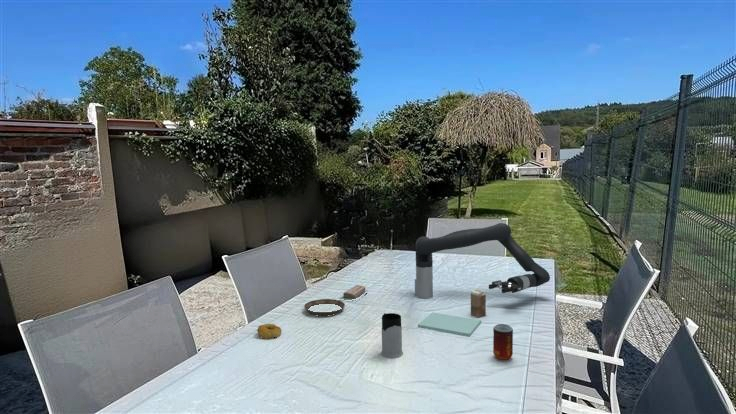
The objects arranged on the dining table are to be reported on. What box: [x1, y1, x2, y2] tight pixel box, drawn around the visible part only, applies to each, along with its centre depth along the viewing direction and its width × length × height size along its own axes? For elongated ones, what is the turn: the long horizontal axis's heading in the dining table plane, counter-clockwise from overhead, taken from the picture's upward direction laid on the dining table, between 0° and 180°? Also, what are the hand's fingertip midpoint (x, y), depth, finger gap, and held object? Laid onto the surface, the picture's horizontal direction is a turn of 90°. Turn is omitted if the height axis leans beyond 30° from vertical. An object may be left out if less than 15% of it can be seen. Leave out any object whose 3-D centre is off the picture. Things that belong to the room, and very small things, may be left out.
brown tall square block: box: [470, 288, 487, 319], centre depth 211 cm, size 5×5×12 cm
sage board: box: [417, 311, 482, 337], centre depth 200 cm, size 24×18×1 cm
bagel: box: [257, 323, 282, 339], centre depth 192 cm, size 10×11×5 cm
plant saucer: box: [304, 298, 346, 317], centre depth 223 cm, size 21×21×3 cm
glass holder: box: [380, 312, 404, 359], centre depth 173 cm, size 9×14×15 cm, turn 15°
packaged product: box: [338, 285, 367, 302], centre depth 245 cm, size 18×5×10 cm
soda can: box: [492, 323, 514, 362], centre depth 165 cm, size 7×7×12 cm
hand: (495, 289), depth 216 cm, fingers open, 8 cm apart
